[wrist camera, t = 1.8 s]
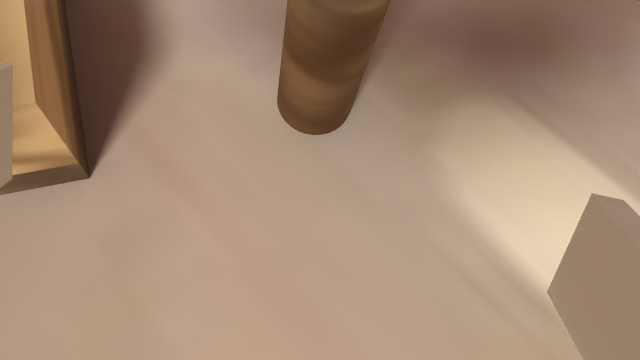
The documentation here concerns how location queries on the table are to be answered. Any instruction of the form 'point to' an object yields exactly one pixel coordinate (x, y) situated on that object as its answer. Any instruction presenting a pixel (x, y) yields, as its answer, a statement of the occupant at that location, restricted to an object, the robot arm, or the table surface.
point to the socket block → (41, 95)
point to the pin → (325, 60)
